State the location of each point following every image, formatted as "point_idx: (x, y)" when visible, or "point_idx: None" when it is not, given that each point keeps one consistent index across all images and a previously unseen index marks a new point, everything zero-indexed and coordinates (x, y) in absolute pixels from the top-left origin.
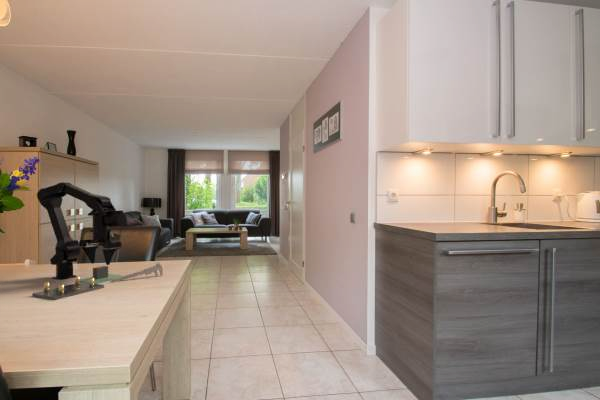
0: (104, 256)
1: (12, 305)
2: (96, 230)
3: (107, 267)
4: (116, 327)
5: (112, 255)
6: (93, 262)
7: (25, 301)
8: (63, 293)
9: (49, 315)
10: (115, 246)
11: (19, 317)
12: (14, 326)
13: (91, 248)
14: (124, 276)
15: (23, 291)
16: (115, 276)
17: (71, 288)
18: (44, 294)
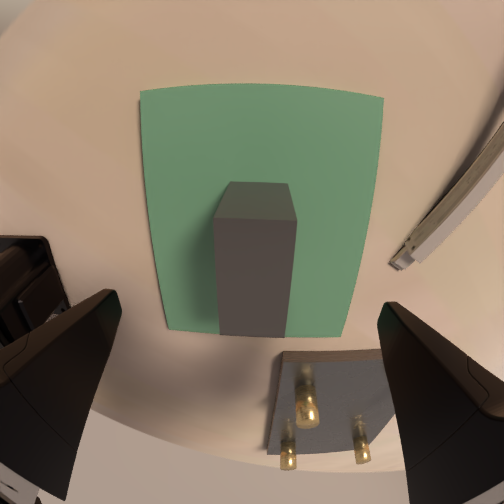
0: (406, 433)
1: (304, 467)
2: None
3: (296, 225)
4: None
5: (479, 372)
6: (114, 301)
7: (301, 458)
8: (366, 438)
9: None
10: None
11: (382, 466)
12: (404, 467)
13: (26, 453)
14: (469, 212)
15: (180, 431)
16: (333, 145)
17: (339, 417)
18: (316, 451)
